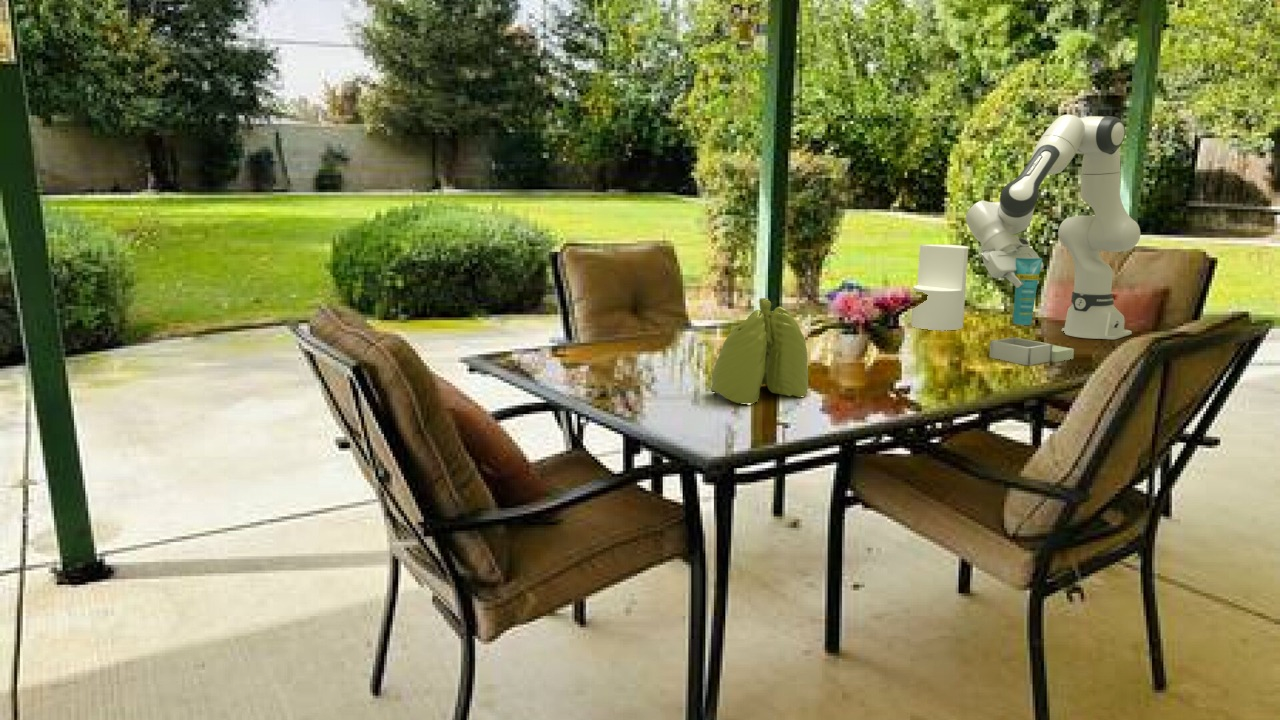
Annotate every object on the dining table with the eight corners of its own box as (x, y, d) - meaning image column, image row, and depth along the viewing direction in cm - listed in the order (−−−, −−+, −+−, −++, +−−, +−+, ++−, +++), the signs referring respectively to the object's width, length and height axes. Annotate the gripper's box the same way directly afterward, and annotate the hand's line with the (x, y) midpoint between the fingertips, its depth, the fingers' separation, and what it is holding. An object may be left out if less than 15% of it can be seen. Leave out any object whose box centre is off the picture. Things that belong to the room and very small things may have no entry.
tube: (1013, 325, 259) (1020, 258, 255) (1005, 322, 264) (1012, 256, 260) (1038, 325, 260) (1045, 258, 256) (1030, 323, 264) (1037, 257, 261)
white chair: (929, 320, 329) (933, 243, 323) (972, 327, 316) (978, 246, 310) (900, 326, 318) (905, 246, 312) (944, 333, 305) (950, 250, 299)
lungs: (782, 383, 238) (784, 292, 233) (818, 396, 225) (822, 300, 220) (700, 394, 228) (700, 299, 223) (732, 409, 214) (734, 308, 209)
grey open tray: (1025, 349, 277) (1027, 333, 276) (1073, 359, 264) (1074, 342, 263) (985, 356, 268) (986, 340, 267) (1032, 366, 255) (1033, 349, 254)
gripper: (985, 243, 258) (1011, 281, 252) (1031, 239, 268) (1058, 276, 262) (971, 257, 262) (997, 295, 256) (1017, 253, 273) (1043, 289, 266)
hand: (1028, 285), depth 259 cm, fingers closed on tube, 5 cm apart
